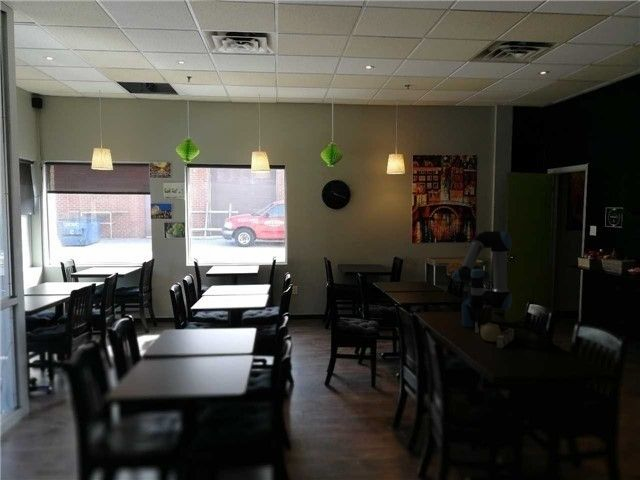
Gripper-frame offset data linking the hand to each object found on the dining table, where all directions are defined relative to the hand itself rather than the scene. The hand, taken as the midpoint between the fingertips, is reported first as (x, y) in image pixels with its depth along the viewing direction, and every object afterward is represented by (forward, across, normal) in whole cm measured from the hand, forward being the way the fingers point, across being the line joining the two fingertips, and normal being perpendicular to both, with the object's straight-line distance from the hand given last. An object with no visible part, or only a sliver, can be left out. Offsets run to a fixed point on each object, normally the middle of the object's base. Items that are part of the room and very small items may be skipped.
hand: (477, 332), depth 283 cm
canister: (+4, -2, +17) cm, 18 cm away
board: (+4, +17, 0) cm, 17 cm away
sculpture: (+4, +8, 0) cm, 9 cm away
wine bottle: (+4, -14, +30) cm, 34 cm away
